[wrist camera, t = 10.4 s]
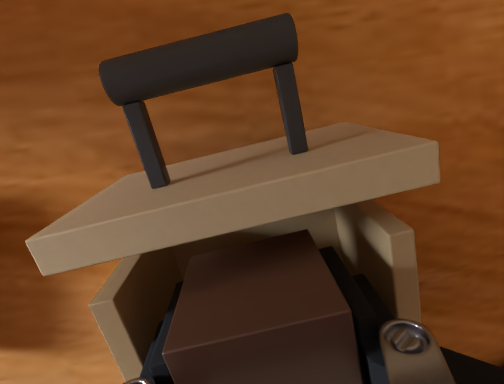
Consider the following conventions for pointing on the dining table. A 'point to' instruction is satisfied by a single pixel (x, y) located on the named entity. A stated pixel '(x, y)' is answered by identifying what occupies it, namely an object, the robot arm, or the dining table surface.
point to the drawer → (235, 190)
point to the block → (262, 318)
